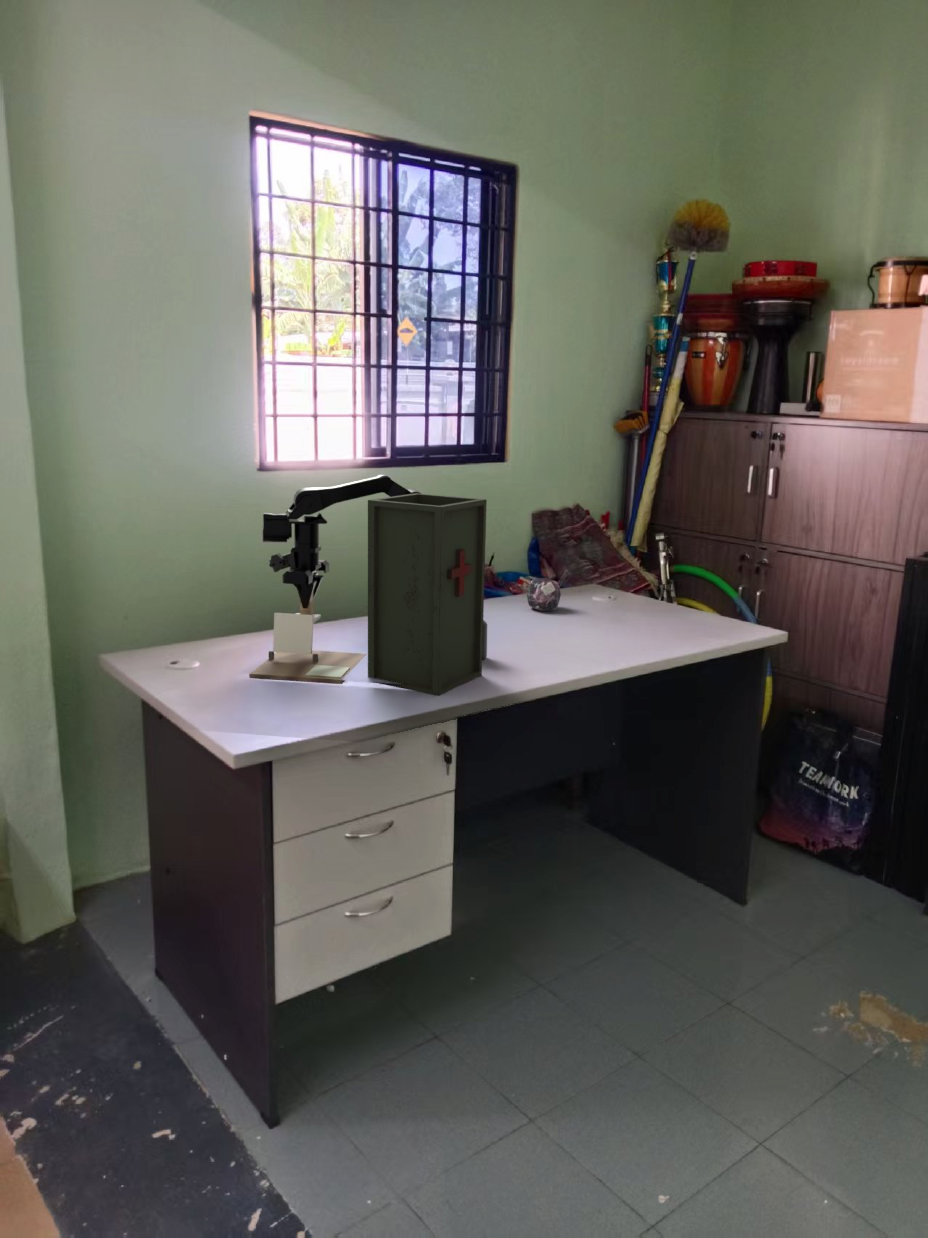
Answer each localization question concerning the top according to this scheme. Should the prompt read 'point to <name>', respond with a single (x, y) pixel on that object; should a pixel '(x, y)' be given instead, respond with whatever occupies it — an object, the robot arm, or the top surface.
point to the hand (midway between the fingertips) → (306, 607)
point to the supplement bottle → (484, 640)
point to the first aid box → (426, 590)
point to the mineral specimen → (543, 594)
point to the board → (308, 666)
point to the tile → (293, 633)
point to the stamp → (309, 610)
